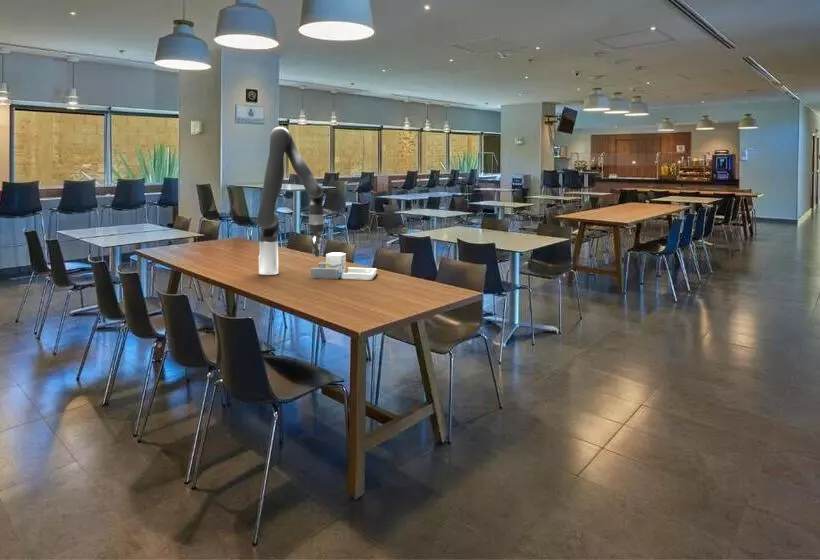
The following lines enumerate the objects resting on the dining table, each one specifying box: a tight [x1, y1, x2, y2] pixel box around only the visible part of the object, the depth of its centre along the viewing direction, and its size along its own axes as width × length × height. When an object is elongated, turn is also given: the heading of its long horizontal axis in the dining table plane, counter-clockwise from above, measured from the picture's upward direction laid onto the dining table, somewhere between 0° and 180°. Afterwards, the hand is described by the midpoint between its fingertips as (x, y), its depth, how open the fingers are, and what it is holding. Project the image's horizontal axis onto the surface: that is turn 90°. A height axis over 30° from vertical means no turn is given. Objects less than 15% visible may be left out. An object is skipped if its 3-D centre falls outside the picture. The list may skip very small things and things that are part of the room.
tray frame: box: [341, 267, 377, 281], centre depth 313 cm, size 15×16×3 cm
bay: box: [310, 262, 340, 280], centre depth 314 cm, size 14×18×5 cm
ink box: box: [325, 252, 347, 278], centre depth 313 cm, size 8×8×12 cm
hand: (317, 256), depth 313 cm, fingers closed
